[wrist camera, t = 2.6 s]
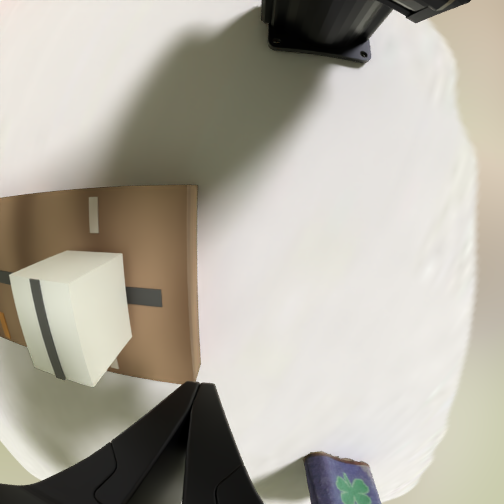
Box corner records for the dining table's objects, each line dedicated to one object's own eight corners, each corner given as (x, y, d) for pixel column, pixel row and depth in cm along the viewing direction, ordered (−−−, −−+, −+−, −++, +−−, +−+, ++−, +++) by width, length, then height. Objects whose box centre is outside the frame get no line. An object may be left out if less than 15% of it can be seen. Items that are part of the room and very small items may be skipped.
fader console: (197, 185, 16) (186, 184, 13) (200, 363, 18) (193, 386, 16) (-22, 201, 16) (-40, 205, 13) (-4, 318, 18) (-19, 328, 16)
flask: (373, 463, 22) (396, 534, 11) (354, 475, 22) (372, 545, 12) (315, 447, 21) (331, 541, 10) (294, 461, 21) (303, 550, 11)
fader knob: (122, 253, 14) (66, 284, 9) (132, 336, 15) (92, 388, 10) (66, 250, 14) (7, 275, 9) (79, 327, 15) (33, 368, 10)
